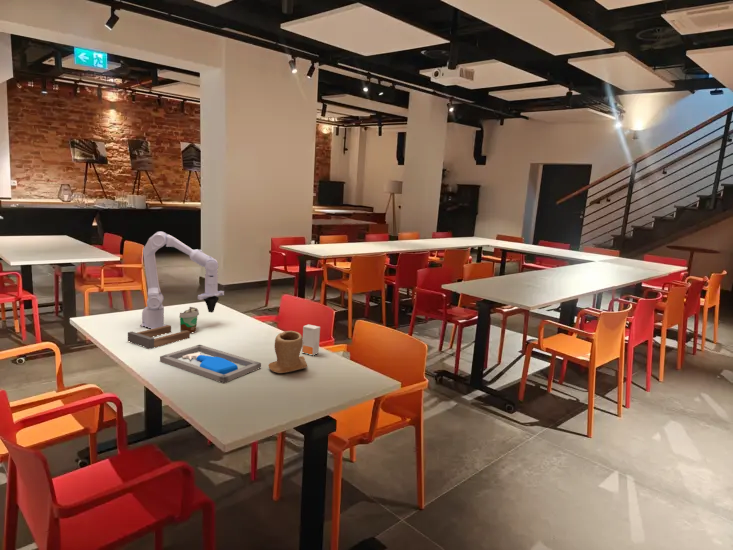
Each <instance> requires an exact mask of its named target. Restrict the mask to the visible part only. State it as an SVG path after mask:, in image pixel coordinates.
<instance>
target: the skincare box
mask: <svg viewBox="0 0 733 550" xmlns="http://www.w3.org/2000/svg"><path fill="white" fill-rule="evenodd" d="M320 334H321V326H318V325H314V324H309V323H308V324H306V325H303V327H302V340H303V345H302V348H301V353H302V352H304V353H308V354H312V355H314V354H316V353H318V354H319V349H320V337H321V335H320Z"/></svg>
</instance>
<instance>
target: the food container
mask: <svg viewBox="0 0 733 550" xmlns="http://www.w3.org/2000/svg"><path fill="white" fill-rule="evenodd" d="M199 315H200V312H199V309H198V308H197V307H195V306H194V307H193V306H189V308H188V309H187V310H184V311H183V312H179V326H180V332H182V331H186V330H187V331H190V334H193V333H192V332H194V333H196V332H197V324H198V316H199ZM195 331H196V332H195Z"/></svg>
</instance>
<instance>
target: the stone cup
mask: <svg viewBox="0 0 733 550" xmlns="http://www.w3.org/2000/svg"><path fill="white" fill-rule="evenodd" d="M302 339H303V335H302V334H301V333H300V332H298V331H295V330H294V331H293V330H285V331H283V332H280V333H278V334H277V335H276V337H275V339H274V353H275V355H276V361H273V362H269V364H268V369H270V371H272V372H273V373H274V372H275V373H277V374H283V373H284V374H285V373H290V372H295V371H299V370H303V369H306V368H308V366H309V365H308V363H307V361H306V358H305V357H304V356H302V355H300V354H301V352H302V345H303V340H302Z"/></svg>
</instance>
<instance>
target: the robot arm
mask: <svg viewBox="0 0 733 550" xmlns="http://www.w3.org/2000/svg"><path fill="white" fill-rule="evenodd" d="M164 246H165V247H167V248H168V247H169V248H170V247H171V248H175V249H177V250H178V251H179V252H182V253H184V254H186V255H188V256H189V259H190V261H192V262H194V263H196V264H197V265H199V266H201V267H203V268H205V274H204V293H201V294H198V295H197V300H200V301H201V300H204V303H205V305H206V308H207V311H208V313H214V311H215V308H216V305H217V303H218V301H219V299H220V297H219V296H225V290H218V289H219V288H218V284H219V283H218V278H219V277H218V276H219V274H218V272H219V271H218V269H219V262H218V260H217V259H216V258H215V257H212V255H208V254H206V253H205V252H203V250H202V249H198V248H197V249H192V248H191V247H190V246H188V245H186V244H185V243H183V242H182V241H180V240H179V239H177V238H176V237H174V236H173V235H170V234H168V233H166V232H164V231H156V232H155V233H154V234H153V235H151V236H150V237H149V238H148V239H147V242H146V244H145V245H144V247H143V249H142V255H143V262H144V270H145V276H146V283H147V300H146V305H147V306H145V307H144V308H143V309H142V312H141V319H142V321H141V322H142V323H141V324H140V327H143V326H145V327H144V328H146V327H148V328H147V329H149V328H151V329H154V328H158V327H162V326H167V325H168V324H165V306H164V305H163V302H164V300H165V299H164V298H165V297H164V294H163V293H162V292H161V287H160V282H159V275H158V267H157V261H156V260H157V259H156V252H157V251H158V250H159V249H161V248H163V247H164Z"/></svg>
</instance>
